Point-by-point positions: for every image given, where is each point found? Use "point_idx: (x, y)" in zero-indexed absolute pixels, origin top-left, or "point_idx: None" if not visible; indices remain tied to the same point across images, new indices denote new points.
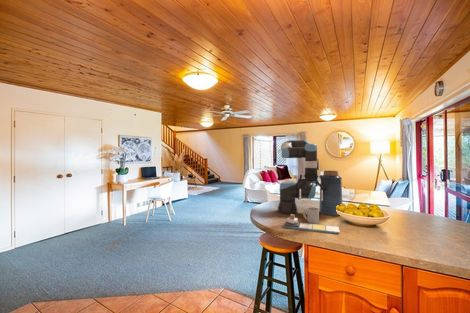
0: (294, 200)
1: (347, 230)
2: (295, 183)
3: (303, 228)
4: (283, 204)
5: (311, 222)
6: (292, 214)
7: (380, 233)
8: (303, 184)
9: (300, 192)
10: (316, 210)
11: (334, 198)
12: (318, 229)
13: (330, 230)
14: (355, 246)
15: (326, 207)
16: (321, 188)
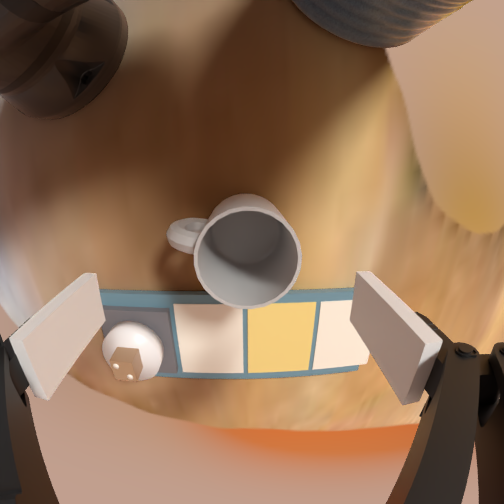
0: (62, 26)
1: (408, 304)
2: None
3: (204, 376)
4: (10, 99)
5: (236, 267)
6: (120, 364)
7: (494, 286)
8: (49, 480)
9: (66, 372)
10: (278, 299)
11: (448, 2)
12: (276, 370)
13: (331, 362)
14: (375, 426)
15: (351, 14)
16: (419, 429)
